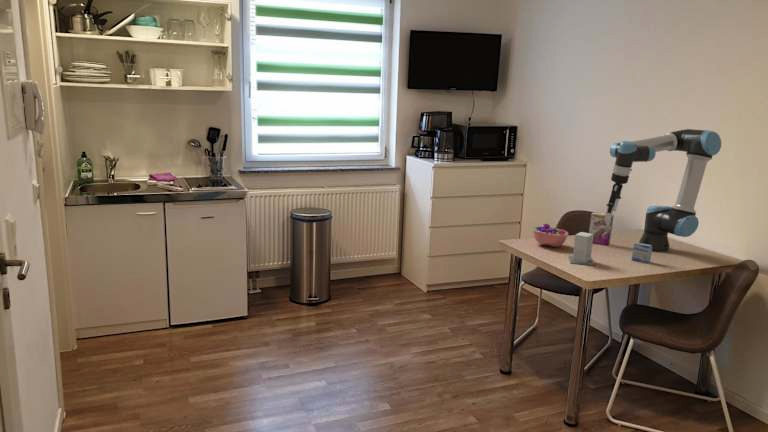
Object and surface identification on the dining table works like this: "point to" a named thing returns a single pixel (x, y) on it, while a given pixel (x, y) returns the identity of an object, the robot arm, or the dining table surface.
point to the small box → (583, 247)
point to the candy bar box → (600, 228)
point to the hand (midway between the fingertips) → (610, 214)
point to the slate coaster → (581, 262)
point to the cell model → (549, 235)
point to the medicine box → (641, 252)
